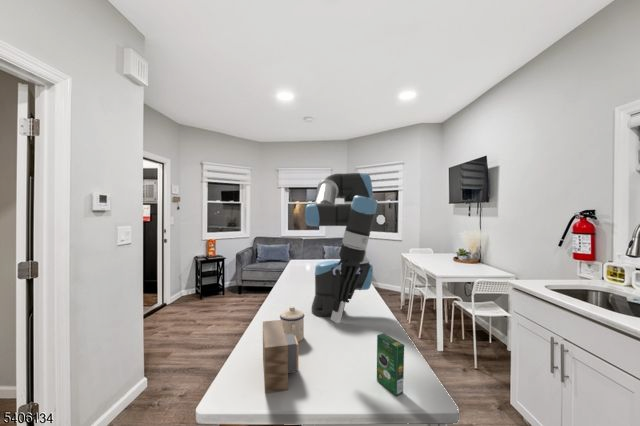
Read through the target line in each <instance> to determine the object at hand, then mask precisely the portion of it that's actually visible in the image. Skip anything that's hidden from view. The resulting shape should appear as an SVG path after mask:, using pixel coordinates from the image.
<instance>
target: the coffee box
mask: <svg viewBox="0 0 640 426" xmlns="http://www.w3.org/2000/svg"><path fill="white" fill-rule="evenodd" d="M404 365H405V344H404V343H402V342H400V341H398V340H397V339H395V338H393V337H391V336H390V335H388V334H387V333H385V332H384V333H379V334H377V335H376V381H377V382H378V383H379V384H380V385H381V386H384V387H385V389H387V390H388V391H390V392H391V393H392V394H394V396H396V397H397V396H399V395H402V394H403V393H404V372H405V371H404V370H405V369H404V367H405V366H404Z"/></svg>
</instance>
